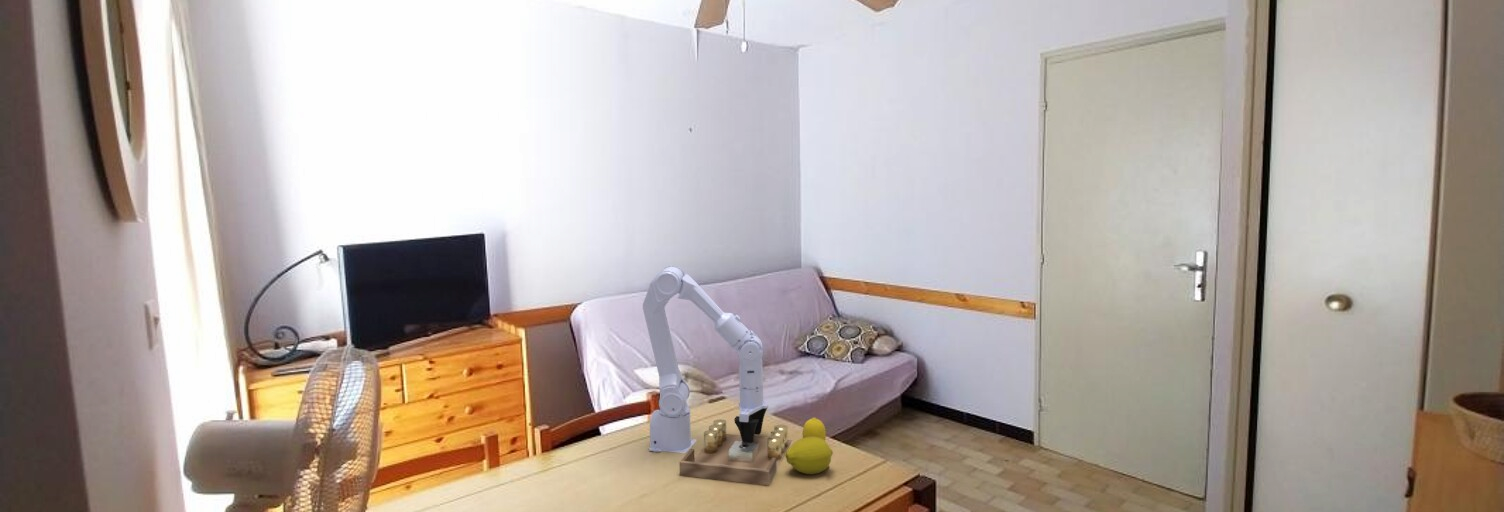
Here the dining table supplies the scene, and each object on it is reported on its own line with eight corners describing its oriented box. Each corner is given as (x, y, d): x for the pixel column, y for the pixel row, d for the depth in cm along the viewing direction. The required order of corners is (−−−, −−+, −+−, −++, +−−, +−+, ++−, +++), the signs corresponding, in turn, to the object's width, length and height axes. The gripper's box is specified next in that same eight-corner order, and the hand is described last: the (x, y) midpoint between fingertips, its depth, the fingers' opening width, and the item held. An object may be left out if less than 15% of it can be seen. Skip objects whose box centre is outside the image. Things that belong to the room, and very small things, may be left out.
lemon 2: (828, 463, 142) (828, 429, 141) (838, 478, 134) (838, 443, 134) (781, 467, 141) (781, 432, 140) (788, 483, 133) (788, 447, 132)
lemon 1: (825, 445, 152) (825, 413, 151) (826, 455, 146) (825, 422, 145) (802, 444, 152) (802, 413, 151) (802, 454, 147) (802, 421, 146)
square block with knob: (728, 460, 143) (728, 450, 143) (735, 450, 148) (735, 440, 148) (752, 462, 141) (752, 452, 141) (758, 452, 147) (758, 442, 147)
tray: (679, 477, 136) (679, 462, 136) (715, 435, 159) (715, 421, 159) (768, 488, 131) (768, 471, 130) (792, 442, 154) (792, 428, 153)
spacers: (702, 453, 147) (701, 434, 147) (716, 436, 157) (715, 418, 156) (779, 461, 142) (779, 442, 142) (789, 443, 152) (788, 425, 151)
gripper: (759, 396, 142) (760, 453, 144) (774, 377, 156) (774, 429, 158) (730, 394, 144) (731, 450, 146) (747, 375, 158) (748, 427, 160)
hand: (752, 439), depth 152 cm, fingers open, 7 cm apart
